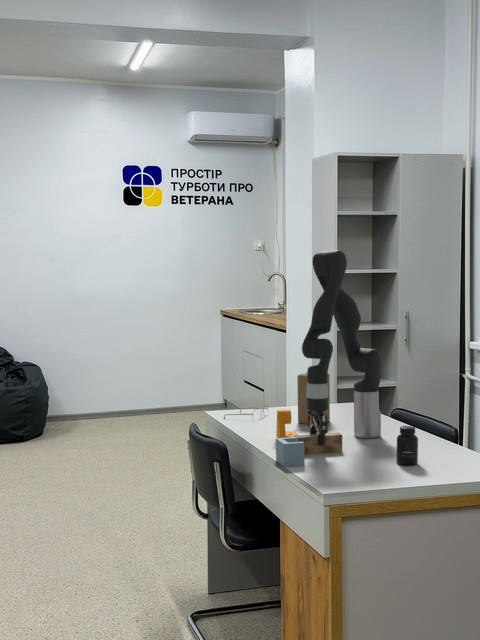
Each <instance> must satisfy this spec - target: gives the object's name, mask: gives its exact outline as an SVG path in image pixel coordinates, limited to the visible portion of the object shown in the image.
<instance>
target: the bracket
mask: <svg viewBox="0 0 480 640" xmlns="http://www.w3.org/2000/svg"><path fill="white" fill-rule="evenodd" d="M291 424H292V411H291V408H290V409H289V408H288V409H287V408H286V409H285V408H283V409H282V408H281V409H277V410H276V438H288V437H294V435H299V434H298V432H297V431H293V430H289V431H288V430H287V431H286V425H291Z"/></svg>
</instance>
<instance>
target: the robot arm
mask: <svg viewBox="0 0 480 640" xmlns="http://www.w3.org/2000/svg"><path fill="white" fill-rule="evenodd" d="M347 265H348V264H347V257H346V254H345V253H344V251H342V250H339V249H337V250H336V249H334V250H333V249H332V250H323V251H318V252H315V254H313V257H312V267H313V271H314V274H315V277H316V279H317V280H318V282H319V284H320V286H321V288H322V290H323V292H322V294H321V295H320V297H319V298H318V299H317V301H316V303H315V305H314V307H313V311H312V316H311V323H310V326H309V329H308V331H307V333H306V335H305V338H304V340H303V342H302V344H301V352H302V355H303V356H304V357H305V358H306V359H310V360H311V359H313V360H314V359H316V360H319V362H318V364H313V365H309V366H308V367H307V372H306V373H307V410H308V424H307V427H308V428H309V434H318V445H325V434H326V433H328V430H329V429H328V422H327V416H324V413H323V411H326V410H328V374H329V372H328V371H329V366H330V362H331V360H332V355H333V352H334V346H333V342H332V341H331V340H330V339H328V338H319V337H320V336H321V335H326V334H328V333H330V332H331V330H332V329H331V328H332V323H333V318H334V320H335V323H336V325H337V326H336V327H338V331H339V333H340V336H341V339H342V342H343V345H344V349H345V352H346V353H345V354H346V357H347V360H348V364H349V367H350V368H351V370H352V371H354V372H357V373H364V377H363V379H361V380H359V381H356V382H354V384H353V426H354V427H353V436H355V437H356V438H361V439H373V438H378V437H381V436H382V412H381V410H380V406H379V405H380V403H379V401H380V399H379V394H380V393H379V391H380V390H379V388H380V384H381V373H382V372H381V369H382V358H381V356H382V355H381V354H380V352H379V350H378V349H376V348H365V347H362V346H361V344H360V342H359V338H358V332H359V330H360V327H361V321H362V317H361V313H360V311H359V308H358V305H357V302H356V301H355V300H354V298H353V297H352V296H351V295H350V294H349V293H348V292H347V291H346V290H344V289H343V288H342V284H343V280H344V278H345V274H346V271H347V267H348V266H347Z"/></svg>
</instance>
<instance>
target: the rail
mask: <svg viewBox="0 0 480 640" xmlns="http://www.w3.org/2000/svg"><path fill="white" fill-rule="evenodd" d="M294 437H297V442H304V456H305V455H319V454H334V453H343V434H341V433H340V432H329V433H328V432H327V433H326V434H325V445H318V433H317V434H310V433H309V434H298V435H294Z"/></svg>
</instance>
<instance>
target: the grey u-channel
mask: <svg viewBox="0 0 480 640" xmlns="http://www.w3.org/2000/svg"><path fill="white" fill-rule="evenodd" d="M275 461H276V462H277V463H278V464H280V465H281V466H282V467H284V468H286V467H287V468H289V467H302V466H305V465H306V464H305V455H304V442H297V437H288V438H277V437H276V438H275Z"/></svg>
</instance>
